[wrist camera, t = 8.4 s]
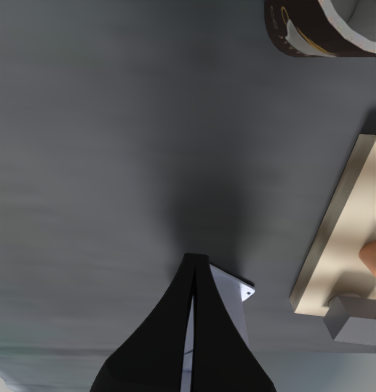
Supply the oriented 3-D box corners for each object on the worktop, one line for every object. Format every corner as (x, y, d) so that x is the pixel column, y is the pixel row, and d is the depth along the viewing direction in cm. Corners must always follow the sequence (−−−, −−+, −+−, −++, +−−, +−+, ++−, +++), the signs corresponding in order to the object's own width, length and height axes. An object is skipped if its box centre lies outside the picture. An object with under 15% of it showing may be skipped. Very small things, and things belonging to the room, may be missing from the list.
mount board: (365, 307, 27) (380, 327, 25) (289, 298, 28) (296, 317, 26) (485, 141, 17) (528, 149, 15) (359, 134, 18) (382, 140, 15)
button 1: (361, 323, 24) (375, 345, 22) (322, 319, 25) (333, 340, 23) (378, 300, 22) (396, 321, 20) (336, 295, 23) (350, 316, 21)
